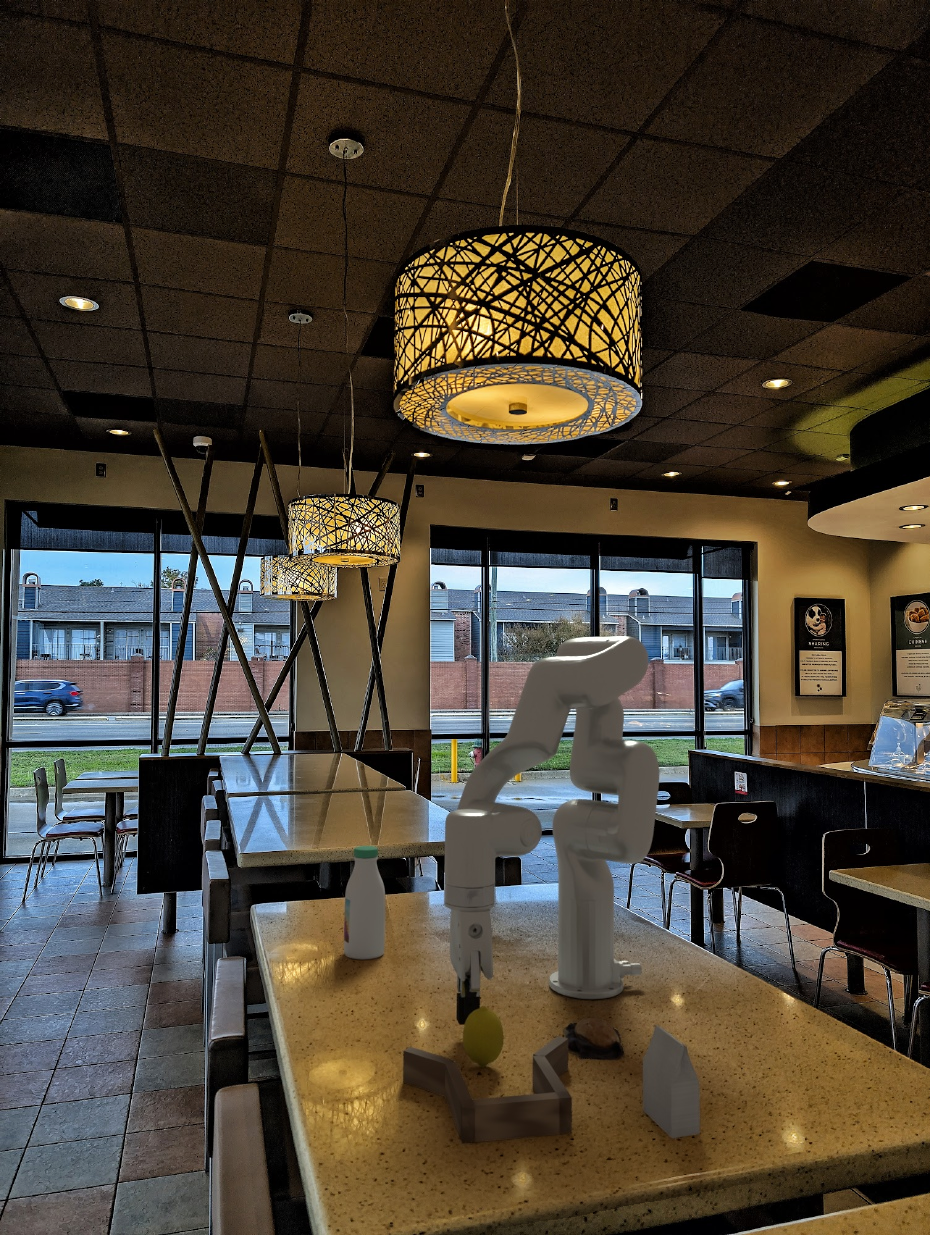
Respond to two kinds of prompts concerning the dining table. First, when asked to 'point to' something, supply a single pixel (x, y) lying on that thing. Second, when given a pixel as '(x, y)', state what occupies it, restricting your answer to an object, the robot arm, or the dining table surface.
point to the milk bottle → (364, 907)
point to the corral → (498, 1114)
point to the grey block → (670, 1086)
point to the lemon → (483, 1036)
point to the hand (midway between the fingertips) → (468, 1021)
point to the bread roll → (594, 1040)
